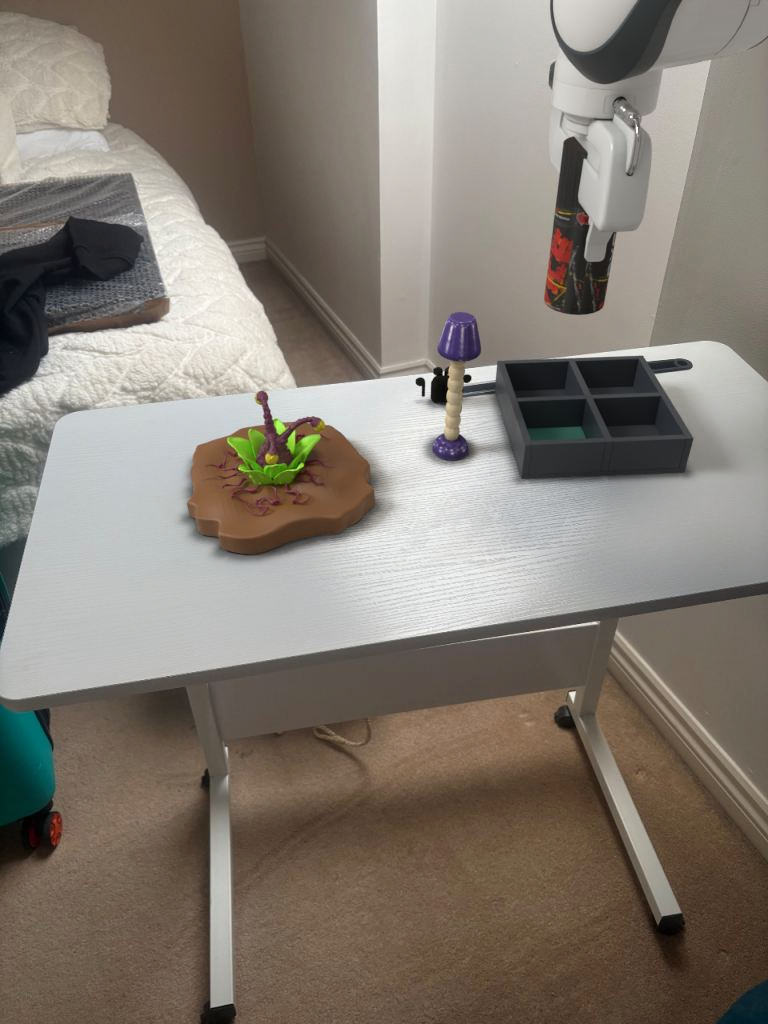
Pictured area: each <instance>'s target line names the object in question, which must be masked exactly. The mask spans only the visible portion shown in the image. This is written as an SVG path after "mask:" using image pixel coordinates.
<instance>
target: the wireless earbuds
mask: <svg viewBox="0 0 768 1024" xmlns="http://www.w3.org/2000/svg"><path fill="white" fill-rule="evenodd" d="M449 367H450V365H449V366H447V367H446V368H444V370H443V368H442V367H440V366H436V367H434V368H433V369H432V374H433V375H434V376H433V378H432V379H431V381H430V400H431V402H433V403H434V404H442V403H443V404H444V403H445V404H447V402H448V401H447V392H448V390H449V389H448V379H449V377H450V376H449ZM472 379H473V378H472V375H471V374H470V373H469V374H468V373H467V374H466V373H465V375H464V377H463V380H464V384H469V383H471V381H472ZM415 385H416V386H418V387H421V397H422V398H425V397H426V379H425V378H424V377H423V376H420V377H419V376H418V377H417V378H416V379H415ZM464 388H465V387H463V389H462V392H463V393H464Z"/></svg>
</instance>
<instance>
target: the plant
mask: <svg viewBox="0 0 768 1024" xmlns="http://www.w3.org/2000/svg"><path fill="white" fill-rule="evenodd" d="M254 401H255V403H256V404H257V405H259V406H261V407H262V412H263V415H262V417H263V419H264V423H263V424H258V425H254V426H253V425H252V426H246V427H241V428H239V429H237V430H236V431H234V432H232V433H231V434H229V435H226V436H223V437H219V438H218V437H217V438H215V439H212V440H209V441H206V442H204V443H201V444H197V445H196V448H195V450H194V453H193V454H192V466H191V468H190V479H191V485H192V489H193V493H192V495H191V497H190V498H189V499H188V500H187V502H186V506H187V510H188V515H189V517H190V518H193V519H194V520H195V521H196V526H197V530H198V533H199V534H201V535H203V536H206V537H215V538H218V542H219V546H220V548H221V549H222V550H224V551H228V552H231V553H236V554H244V555H245V554H246V555H253V554H260V553H265V552H268V551H271V550H273V549H276V548H279V547H281V546H283V545H286V544H288V543H291V542H294V541H298V540H302V539H307V538H311V537H317V536H320V535H329V534H330V535H331V534H339V533H342V532H343V531H345V530H346V529H347V528H349V527H351V526H353V525H355V524H356V523H358V522H359V521H360V520H361V519H363V517H364V515H365V514H366V513H367V512H369V511H370V510H371V509H373V508H374V507H375V506H376V492H375V491H376V490H375V489H374V488H373V487H372V486H371V485H370V482H371V479H372V472H371V470H372V469H371V465H370V463H369V461H368V460H367V459H366V458H365V457H364V456H363V455H362V454H361V453H360V452H359V451H358V449H356V447H355V446H354V445H353V444H352V442H350V440H349V439H348V438H347V437H346V436H345V435H344V434H343V433H342V432H341V431H340V430H338V429H337V428H335V427H334V426H332V425H330V424H326V423H325V421H324V419H322V418H320V417H318V416H315V415H312V416H306V417H302V418H298V419H296V420H295V421H286V422H282V421H281V420H280V419H279V418H277V417H275V418H273V414H272V413H271V412H272V411H271V409H270V407H269V403H268V401H269V395H268V392H266V391H265V390H259V391H257V392H256V393H255V395H254Z"/></svg>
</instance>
